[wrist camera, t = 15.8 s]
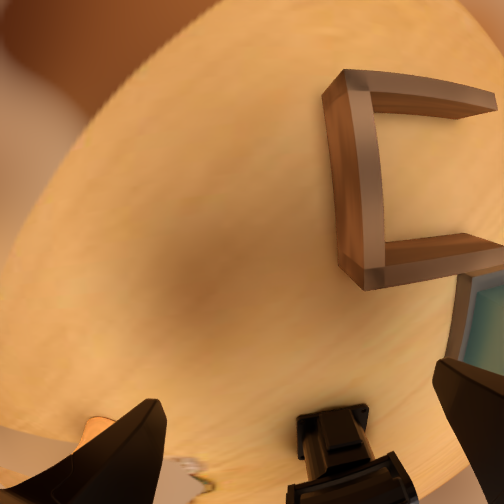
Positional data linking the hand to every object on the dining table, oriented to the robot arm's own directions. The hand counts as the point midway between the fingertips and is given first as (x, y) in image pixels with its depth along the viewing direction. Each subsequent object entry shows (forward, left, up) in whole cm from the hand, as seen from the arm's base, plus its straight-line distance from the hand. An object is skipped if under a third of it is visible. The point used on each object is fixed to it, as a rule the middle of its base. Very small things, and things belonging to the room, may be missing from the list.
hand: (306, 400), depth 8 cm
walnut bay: (+6, -10, -12) cm, 17 cm away
